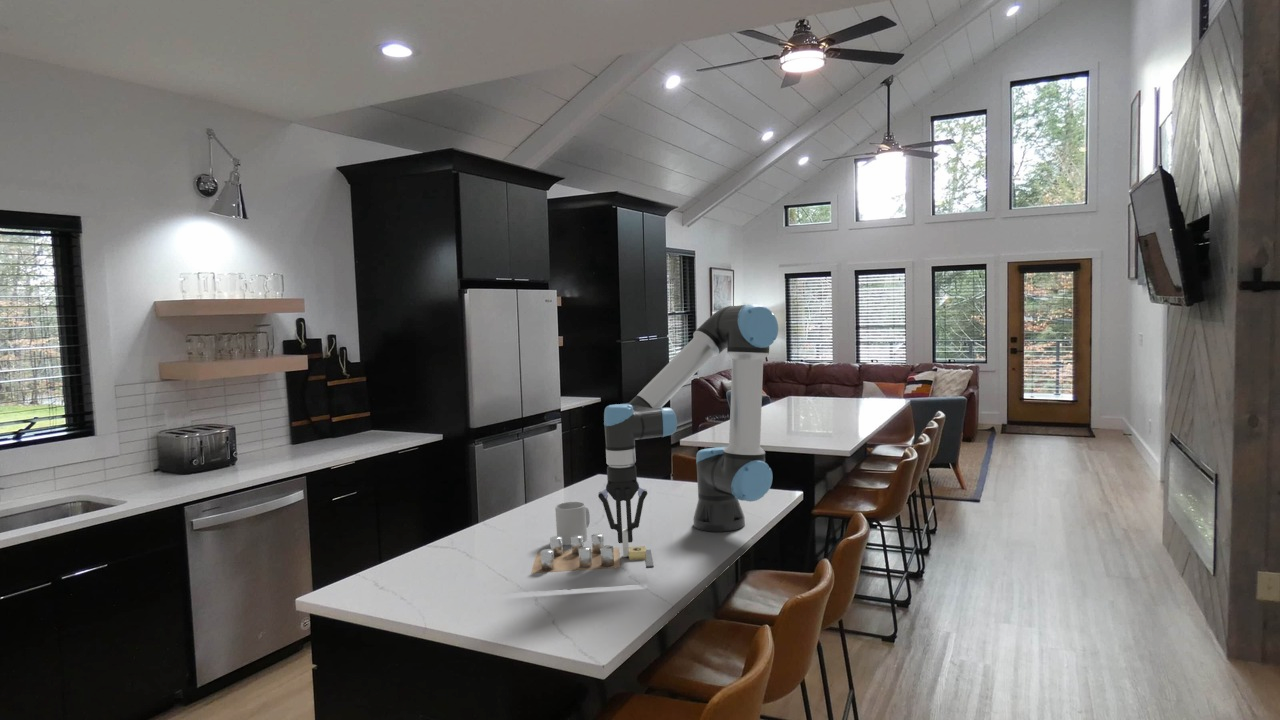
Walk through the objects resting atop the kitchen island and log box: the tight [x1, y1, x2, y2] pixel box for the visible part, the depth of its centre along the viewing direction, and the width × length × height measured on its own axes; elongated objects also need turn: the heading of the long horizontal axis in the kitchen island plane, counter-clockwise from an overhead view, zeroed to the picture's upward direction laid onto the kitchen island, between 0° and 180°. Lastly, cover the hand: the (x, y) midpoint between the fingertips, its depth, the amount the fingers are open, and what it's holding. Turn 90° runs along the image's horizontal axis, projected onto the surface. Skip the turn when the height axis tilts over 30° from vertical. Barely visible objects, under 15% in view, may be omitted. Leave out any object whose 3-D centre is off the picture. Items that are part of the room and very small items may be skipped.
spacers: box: [540, 533, 614, 571], centre depth 195 cm, size 18×14×4 cm
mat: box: [644, 549, 655, 568], centre depth 195 cm, size 8×13×1 cm, turn 2°
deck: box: [530, 547, 621, 574], centre depth 195 cm, size 22×16×1 cm
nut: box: [628, 545, 647, 562], centre depth 195 cm, size 4×4×3 cm
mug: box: [555, 501, 591, 546], centre depth 213 cm, size 12×8×11 cm
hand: (626, 554), depth 195 cm, fingers closed
